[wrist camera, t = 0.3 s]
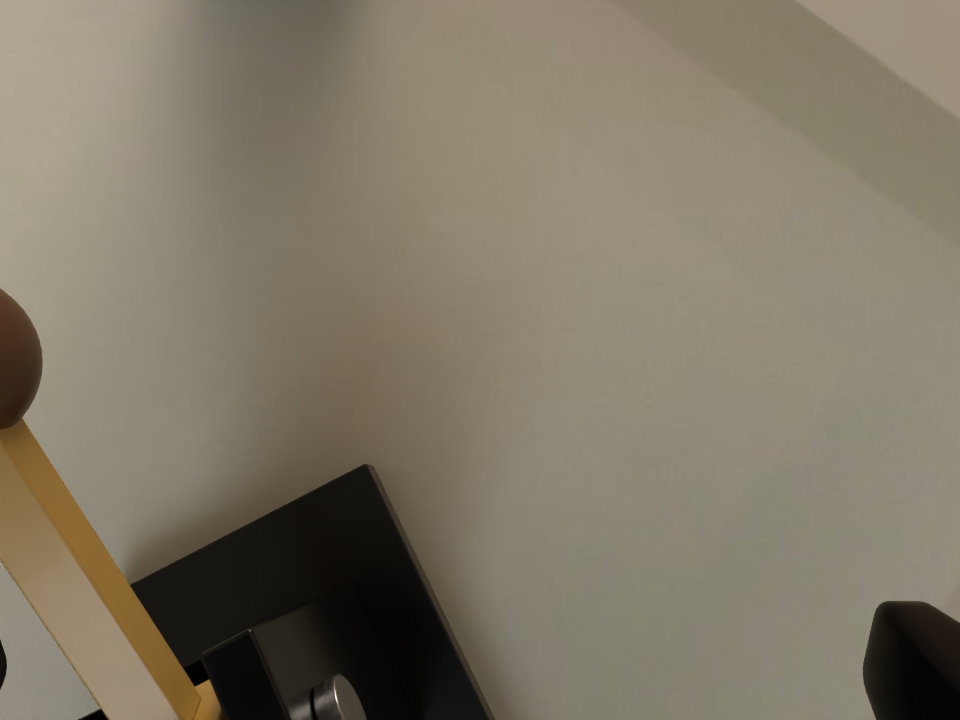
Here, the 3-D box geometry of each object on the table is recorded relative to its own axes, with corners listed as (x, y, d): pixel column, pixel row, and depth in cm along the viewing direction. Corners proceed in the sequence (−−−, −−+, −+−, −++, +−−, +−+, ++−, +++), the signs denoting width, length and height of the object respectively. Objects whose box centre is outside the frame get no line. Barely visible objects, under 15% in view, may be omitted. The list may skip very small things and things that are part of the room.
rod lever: (-154, 311, 14) (-313, 331, 10) (11, 232, 14) (-97, 227, 11) (189, 821, 16) (143, 963, 13) (327, 747, 16) (315, 869, 13)
